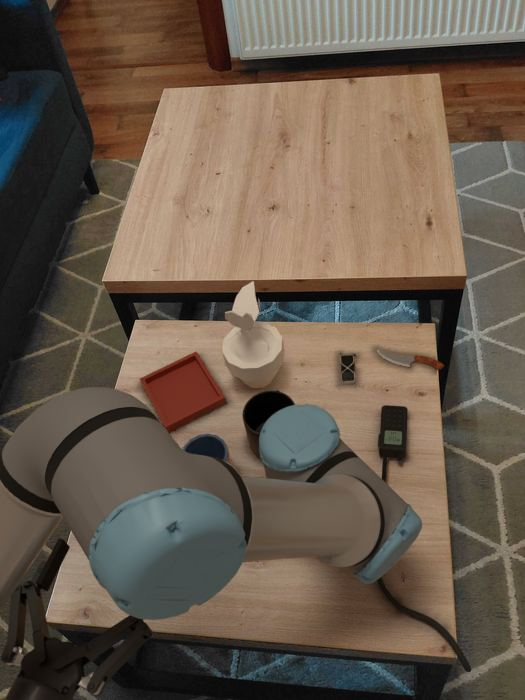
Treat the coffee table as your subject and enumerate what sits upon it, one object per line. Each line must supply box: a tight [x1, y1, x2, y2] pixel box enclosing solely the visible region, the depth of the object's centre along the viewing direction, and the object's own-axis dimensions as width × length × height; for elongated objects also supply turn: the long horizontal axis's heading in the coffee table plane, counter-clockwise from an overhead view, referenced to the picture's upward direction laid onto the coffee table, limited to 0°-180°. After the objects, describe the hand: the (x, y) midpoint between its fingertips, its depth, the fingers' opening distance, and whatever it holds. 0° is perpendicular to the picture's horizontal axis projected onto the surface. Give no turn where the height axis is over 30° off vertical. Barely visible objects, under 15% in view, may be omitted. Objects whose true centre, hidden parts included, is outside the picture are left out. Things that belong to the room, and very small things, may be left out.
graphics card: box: [339, 352, 357, 385], centre depth 126 cm, size 7×1×3 cm
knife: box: [376, 349, 445, 371], centre depth 126 cm, size 13×1×3 cm
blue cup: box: [182, 433, 235, 468], centre depth 111 cm, size 8×8×10 cm
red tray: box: [139, 351, 228, 434], centre depth 127 cm, size 14×13×2 cm
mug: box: [241, 389, 296, 459], centre depth 116 cm, size 9×12×9 cm
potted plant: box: [221, 280, 285, 389], centre depth 119 cm, size 13×12×25 cm
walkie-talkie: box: [377, 404, 408, 484], centre depth 113 cm, size 5×3×15 cm
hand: (106, 554), depth 90 cm, fingers open, 13 cm apart
